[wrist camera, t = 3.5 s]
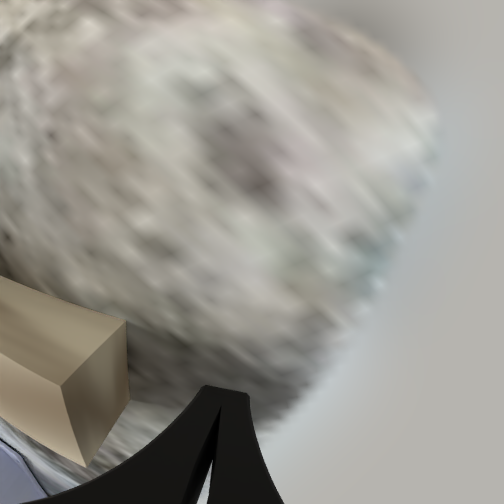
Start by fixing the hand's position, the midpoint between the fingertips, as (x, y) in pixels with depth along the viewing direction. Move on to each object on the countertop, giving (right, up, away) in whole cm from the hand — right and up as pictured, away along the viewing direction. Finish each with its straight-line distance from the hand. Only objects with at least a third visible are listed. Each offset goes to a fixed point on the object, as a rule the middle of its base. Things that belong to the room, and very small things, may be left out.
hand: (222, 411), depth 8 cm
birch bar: (-7, +2, +2) cm, 8 cm away
